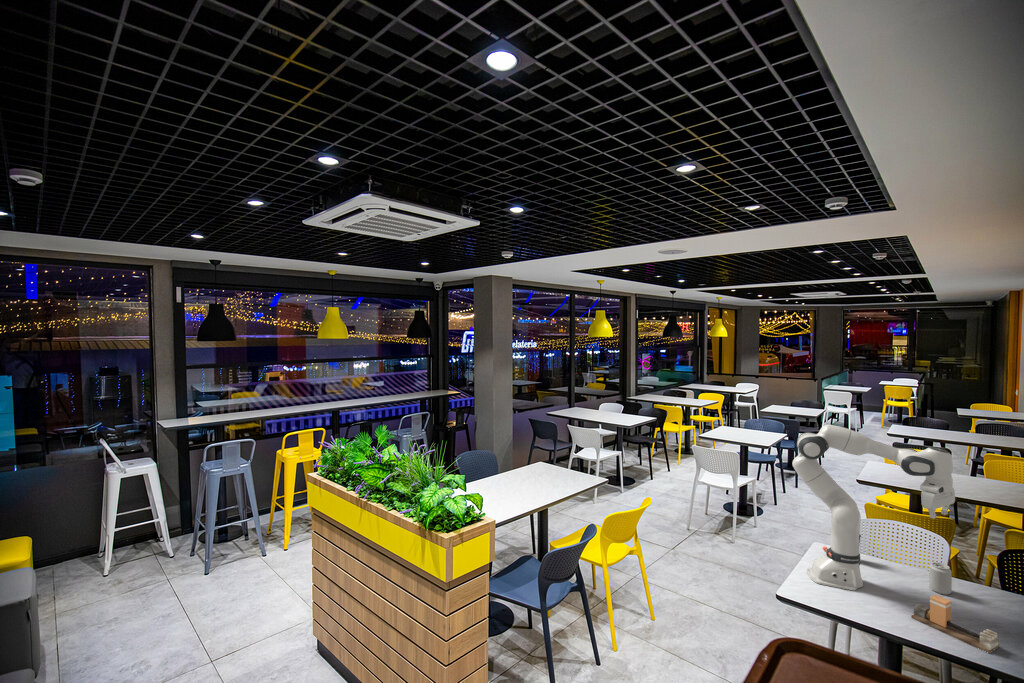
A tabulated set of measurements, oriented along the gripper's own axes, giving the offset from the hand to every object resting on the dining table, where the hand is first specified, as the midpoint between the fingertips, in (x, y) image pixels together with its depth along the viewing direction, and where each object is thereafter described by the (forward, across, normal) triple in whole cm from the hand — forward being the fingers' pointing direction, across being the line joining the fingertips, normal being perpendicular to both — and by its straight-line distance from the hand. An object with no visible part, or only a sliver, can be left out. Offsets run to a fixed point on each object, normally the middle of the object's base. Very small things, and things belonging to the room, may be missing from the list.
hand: (938, 516), depth 207 cm
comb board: (+37, +22, +14) cm, 46 cm away
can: (+37, -9, -3) cm, 38 cm away
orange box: (+36, +23, +10) cm, 43 cm away
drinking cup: (+37, -5, -38) cm, 54 cm away
